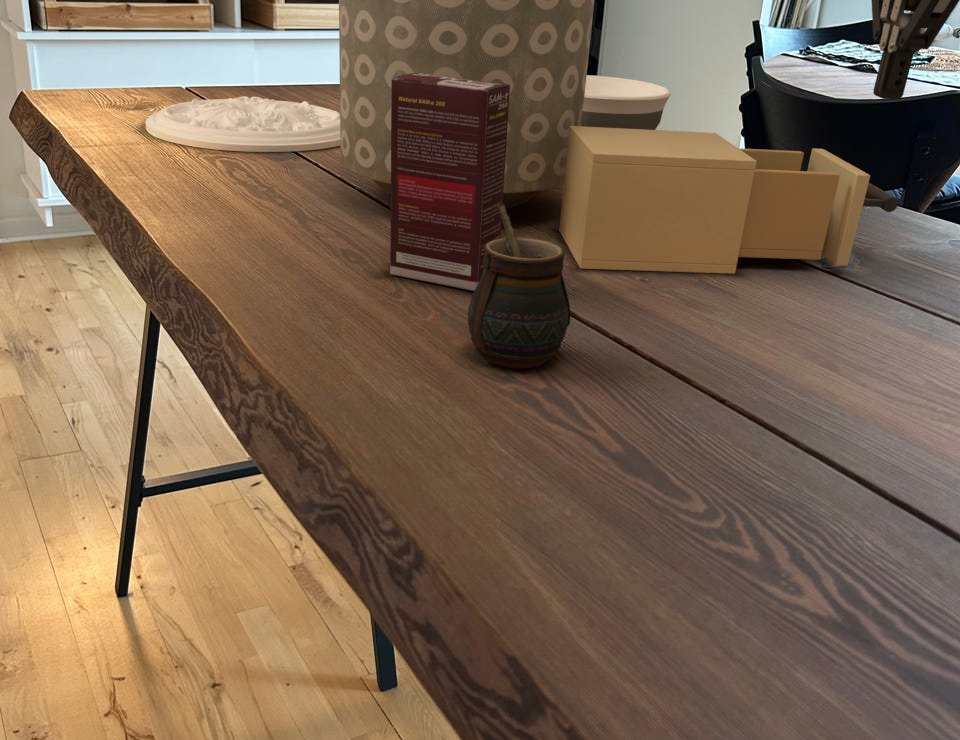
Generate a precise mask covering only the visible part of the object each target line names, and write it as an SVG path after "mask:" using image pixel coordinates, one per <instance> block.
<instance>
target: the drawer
mask: <svg viewBox="0 0 960 740" xmlns="http://www.w3.org/2000/svg"><path fill="white" fill-rule="evenodd" d="M737 148H738V149H740V150H741V151H743V152H744V153H746V154H747V155H749V156H750V157H751V158H753V159H754V160H756V161H757V162H756V167H755V172H754V177H753V183H752V188H751V193H750V198H749V203H748V209H747V214H746V219H745V224H744V229H743V235H742V240H741V245H740V250H739V255H738V258H756V259H760V258H761V259H763V258H764V259H783V260H784V259H785V260H786V259H787V260H811V261H812V260H813V261H820V260H821V259H822V256H823V257H824V258H826V259H827V260H828V261H829V262H831V263H832V264H834V265H835V266H836V267H848V266H849V263H850V259H851V256H852V255H851V254H852V251H853V247H854V243H855V239H856V236H857V235H856V234H857V231H858V226H859V223H860V219H861V216H862V211H863V207H869V208H870V207H871V208H879V209H881V210H882V211H884V212H886V213H892V212H895V210H896V209H898V207H899V206H898V204H899V200H898V199H897V198H896V197H895V196H893V195H892V194H890V193H888V192H886V191H885V190H883V189H881V188H879V187H877V186H876V185H875V184H872V183H870V179H871V175H870V174H869V173H868V172H867V173H866V172H865V171H864V170H861V169H860V168H858V167H857V166H855V165H852V164H851V163H849V162H848V161H845V160H843V159H842V158H841V157H839V156H837V155H835V154H833V153H831V152H829V151H827V150H826V149H824V148H815V147H814V148H811V152H810V157H809V162H808V166H807V171H806V170H805V171H804V170H801V169H802V164H803V159H804V155H805V153H804V152H803V151H801V150H783V149H782V150H781V149H759V148H758V149H757V148H739V147H737Z"/></svg>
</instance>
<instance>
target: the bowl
mask: <svg viewBox="0 0 960 740" xmlns="http://www.w3.org/2000/svg"><path fill="white" fill-rule="evenodd" d="M671 95H672V94H671V91H670V89H668V88H667V87H664V86H662V85H659V84H655V83H653V82H652V83H651V82H647V81H644V80H643V81H642V80H636V79H631V78H624V77H614V76H604V75H592V74H591V75H590V74H587V76H586V85H585V95H584V104H583V114H582V123H581V126H582V127H603V128H623V129H644V130H657V128H658V126H659V125H660V123H661V121H662V116H663V113H664V109H665V107H666V104H667V102H668V100H669V99H670V97H671Z"/></svg>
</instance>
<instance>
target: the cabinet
mask: <svg viewBox="0 0 960 740" xmlns="http://www.w3.org/2000/svg"><path fill="white" fill-rule="evenodd" d="M738 148H739V147H737V146H735V144H732V143H731V142H730V141H729V140H727V139H725V138H724V137H723V136H721V135H720V134H718V133H716V132H703V131H686V130H685V131H683V130H682V131H681V130H665V129H664V130H663V129H662V130H661V129H655V130H644V129H623V128H603V127H582V126H570V127H569V137H568V147H567V157H566V167H565V177H564V185H563V188H562V197H561V207H560V218H559V227H558V231H559V233H560V234H561V236H562V238H563V240H564V242H565V244H566V245H567V247H568V249H569V251H570V252H571V255H572V256H573V258H574V260H575V261H576V263H577V265H578V267H579V269H582V270H583V269H585V270H608V271H612V270H613V271H637V272H639V271H641V272H642V271H643V272H670V273H672V272H673V273H696V274H697V273H698V274H700V273H701V274H732V275H735V274H736V272H737V266H738V260H739V257H738V255H739V250H740V245H741V240H742V235H743V229H744V224H745V219H746V214H747V209H748V203H749V198H750V193H751V188H752V183H753V177H754V172H755V167H756V162H757V161H756V160H754V159H753V158H751V157H750V156H749V155H747V154H746V153H744V152H743V151H741V150H740V149H741V148H740V149H738Z"/></svg>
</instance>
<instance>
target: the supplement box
mask: <svg viewBox="0 0 960 740" xmlns="http://www.w3.org/2000/svg"><path fill="white" fill-rule="evenodd" d="M391 81H392V87H391V90H392V97H391V194H390V229H389V231H390V233H389V234H390V237H389V238H390V239H389V240H390V243H389V245H390V246H389V247H390V248H389V261H390V262H389V272H390V273H389V274H390V275H393V276H397V277H402V278H407V279H412V280H416V281H420V282H421V281H422V282H427V283H432V284H436V285H442V286H446V287H452V288H457V289H462V290H465V291H472V292H475V289H476V287H477V285H478V283H479V281H480V279H481V276H482V273H483V270H484V263H483V259H484V247H485V245H486V244H487V243H489V242H491V241H493V240H497V239H501V236H502V235H501V234H502V218H501V214H500V211H499V208H498V206H497V204H498V205H503V190H504V175H505V158H506V143H507V127H508V110H509V94H510V85H509V84H503V83H495V82H487V81H479V80H471V79H463V78H455V77H446V76H438V75H431V74H423V73H411V74H405V75H401V76H397V77H394V78H392V79H391Z"/></svg>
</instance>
